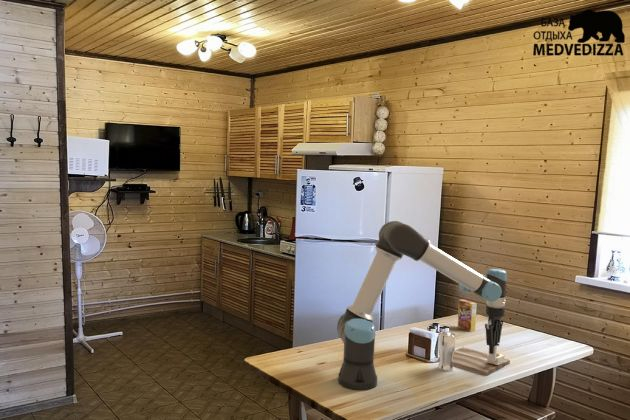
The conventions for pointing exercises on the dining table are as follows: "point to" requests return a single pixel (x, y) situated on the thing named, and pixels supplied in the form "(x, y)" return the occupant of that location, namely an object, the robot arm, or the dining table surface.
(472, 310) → the candy box
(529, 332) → the dining table surface
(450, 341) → the clear glass bottle
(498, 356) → the cream block with hole
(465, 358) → the board
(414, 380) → the dining table surface
